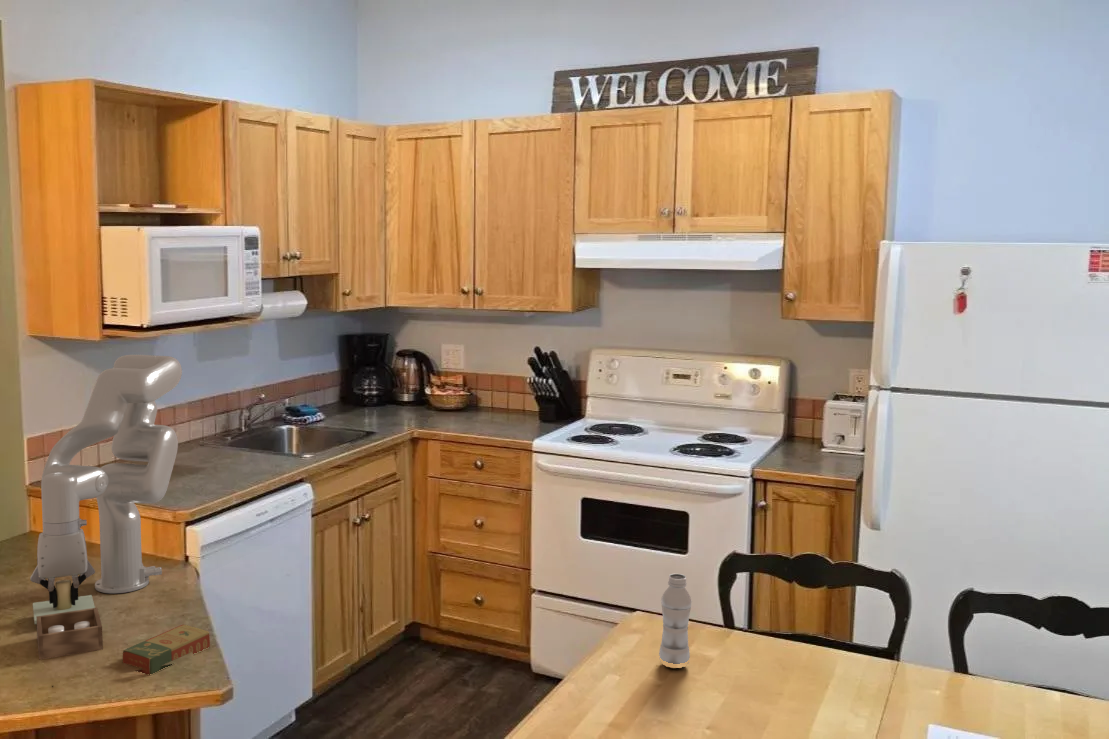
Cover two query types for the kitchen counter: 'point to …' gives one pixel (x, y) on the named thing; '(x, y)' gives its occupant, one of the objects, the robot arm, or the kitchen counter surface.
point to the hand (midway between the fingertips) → (64, 603)
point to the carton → (166, 648)
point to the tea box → (69, 633)
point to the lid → (62, 601)
